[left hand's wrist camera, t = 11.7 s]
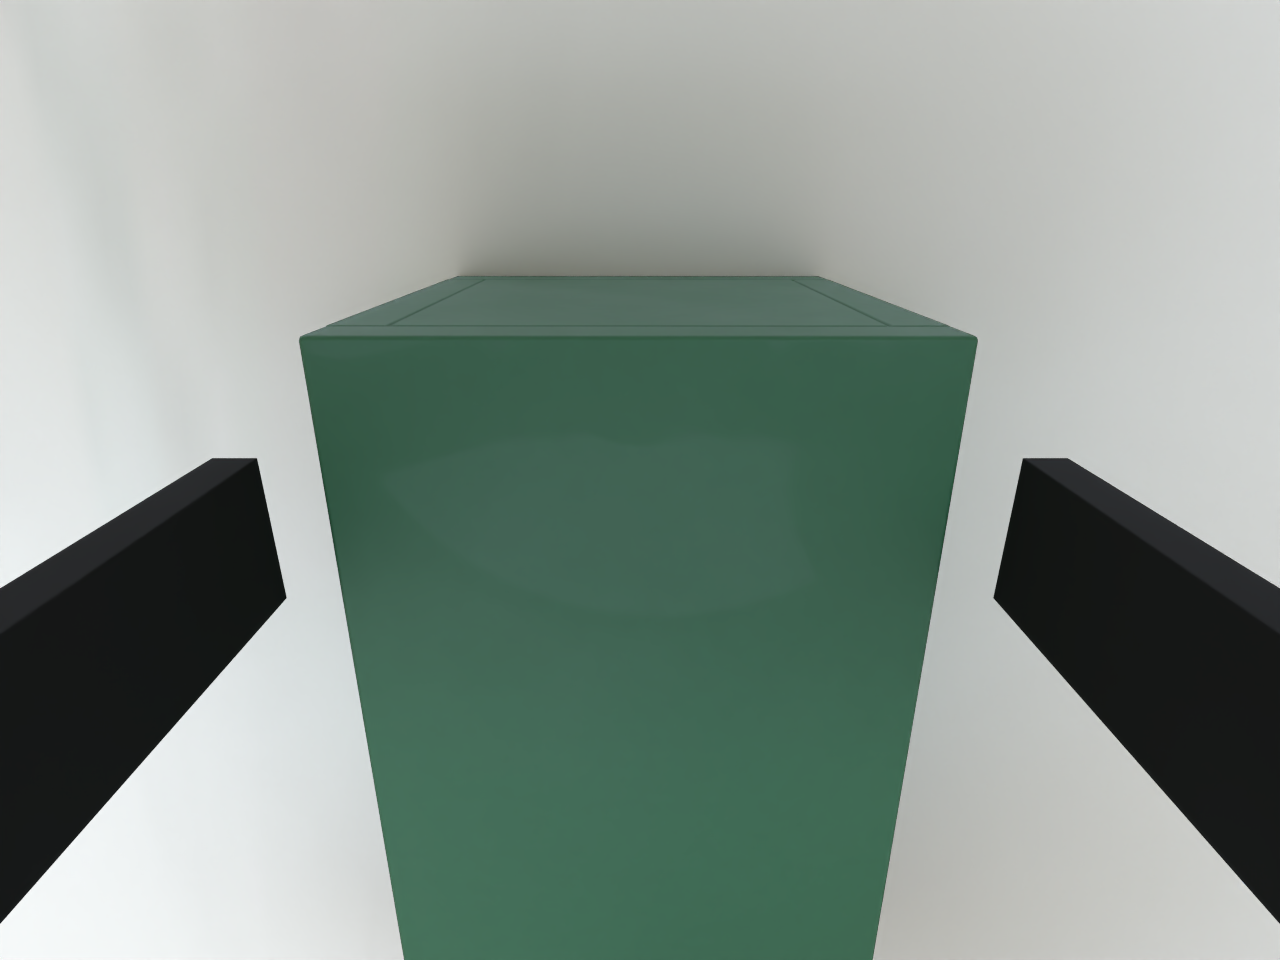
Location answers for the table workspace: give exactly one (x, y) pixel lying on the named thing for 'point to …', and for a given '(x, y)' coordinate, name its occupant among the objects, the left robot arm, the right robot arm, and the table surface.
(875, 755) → the cabinet
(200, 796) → the table surface
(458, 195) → the table surface
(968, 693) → the table surface
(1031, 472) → the left robot arm
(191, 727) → the table surface
